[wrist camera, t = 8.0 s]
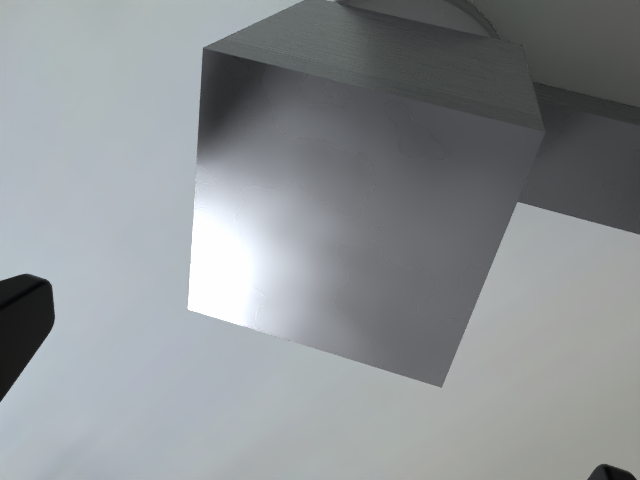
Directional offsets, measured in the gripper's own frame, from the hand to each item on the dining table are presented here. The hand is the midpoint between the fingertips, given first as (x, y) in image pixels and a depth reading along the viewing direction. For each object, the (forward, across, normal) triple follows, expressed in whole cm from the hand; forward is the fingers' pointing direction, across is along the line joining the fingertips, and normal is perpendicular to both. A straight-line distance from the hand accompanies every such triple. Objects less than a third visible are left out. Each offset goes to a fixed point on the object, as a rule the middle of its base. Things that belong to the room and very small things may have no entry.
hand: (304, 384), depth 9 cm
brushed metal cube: (+9, 0, -1) cm, 9 cm away
